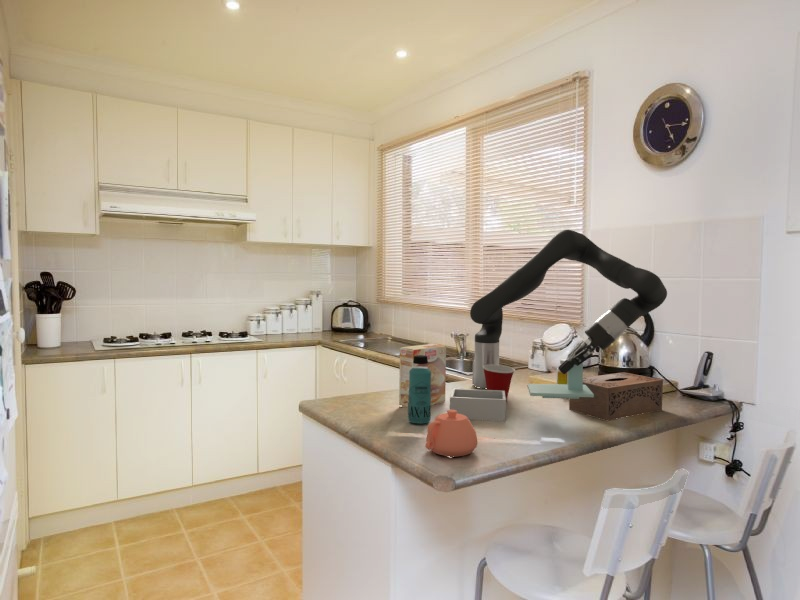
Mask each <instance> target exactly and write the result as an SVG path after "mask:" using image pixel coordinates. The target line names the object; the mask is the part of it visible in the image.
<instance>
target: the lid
mask: <svg viewBox="0 0 800 600" xmlns="http://www.w3.org/2000/svg"><path fill="white" fill-rule="evenodd" d="M566 359H567V361H569V358H566ZM576 359H577V360H579V359H578V358H576ZM583 363H584V362H583ZM583 363H581V364H580V365H579V366H574V367H573V368H571V369H570V370H569V371H568V372H567V384H557V383H526V384H527V390H528V392H529V395H530V397H541V398H542V399H579V397H594V394H593V393H592V392H591V391H590V389H589V388H588V387H587V386H586V385H583V377H584V374H583V373H584V368H583V367H584V364H583Z"/></svg>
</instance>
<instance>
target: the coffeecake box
mask: <svg viewBox="0 0 800 600" xmlns="http://www.w3.org/2000/svg"><path fill="white" fill-rule="evenodd" d="M416 355H425V356H427V358H428V363H427V364H415V363H413V360H414V356H416ZM413 367H427V368H429V369H430V371H431V406H433V405H436V404H441V403H445V402H446V382H447V381H446V379H447V378H446V377H447V374H446V373H447V346H446V345H443V344H436V343H429V344H419V345H410V346H409V345H408V346H402V347H399V386H398V388H399V389H398V391H399V392H398V393H399V394H398V396H399V397H398V398H399V399H398V402H399V403H398V406H399V405H402V406H403V407H404V406H405V407H404V408H408V404H409V400H408V396H409V393H408V392H409V371H410V370H411V369H412V368H413Z"/></svg>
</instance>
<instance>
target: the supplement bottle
mask: <svg viewBox="0 0 800 600" xmlns="http://www.w3.org/2000/svg"><path fill="white" fill-rule="evenodd" d="M565 360H567V358H562V359H559V364H560V365H561V364H562V363H563V362H564V361H565ZM556 384H567V373H566V374H563V373H562V372H561V371H560V370H559V369H558V367H557V368H556Z"/></svg>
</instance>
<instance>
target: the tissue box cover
mask: <svg viewBox="0 0 800 600" xmlns="http://www.w3.org/2000/svg"><path fill="white" fill-rule="evenodd" d="M583 385H586V386H587V387H588V388H589V389H590V391H591V392H592V393H593V394H594V397H579V399H569V403H568V405H569V406H568V408H569V409H568V410H570V411H572V412H576V413H579V414H583V415H587V416H588V417H589V416H590V417H593V418H596V419H599V418H600V420H603V421H606V420H608V421H612V419H613V420H617V419H616V418H618V419H622V418H621V417H624V418H627V417H626V416H629V417H632V415H634V416H638V415H637V414H639V415H643V414H642V413H644V414H648V412H650V413H654V412H653V411H655V412H658V411H657V410H660V411H662V410H663V390H664V389H663V387H664V386H663V385H664V379H660V378H654V377H650V376H644V375H639V374H634V373H630V372H625V371H623V372H617V373H607V374H602V375H601V374H600V375H599V374H598V375H594V376H593V375H591V376H586V377H584V376H583Z"/></svg>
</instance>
